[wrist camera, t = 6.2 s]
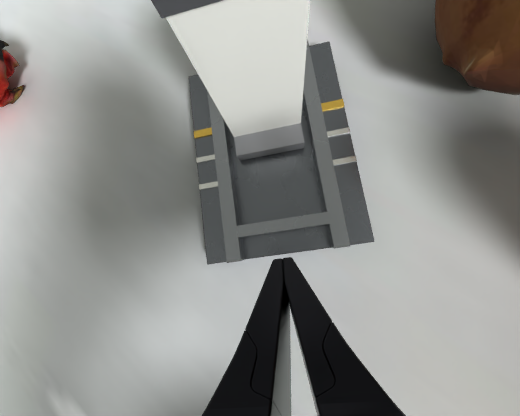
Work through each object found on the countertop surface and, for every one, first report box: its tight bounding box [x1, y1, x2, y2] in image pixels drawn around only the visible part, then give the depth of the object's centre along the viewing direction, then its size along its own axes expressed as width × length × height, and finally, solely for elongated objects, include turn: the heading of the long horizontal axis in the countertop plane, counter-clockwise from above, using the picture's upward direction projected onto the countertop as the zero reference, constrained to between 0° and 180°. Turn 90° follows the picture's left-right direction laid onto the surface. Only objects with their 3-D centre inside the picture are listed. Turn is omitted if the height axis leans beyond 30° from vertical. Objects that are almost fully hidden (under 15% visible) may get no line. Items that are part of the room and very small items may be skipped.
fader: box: [151, 0, 310, 161], centre depth 11 cm, size 6×5×12 cm
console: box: [189, 39, 374, 264], centre depth 17 cm, size 16×12×2 cm
